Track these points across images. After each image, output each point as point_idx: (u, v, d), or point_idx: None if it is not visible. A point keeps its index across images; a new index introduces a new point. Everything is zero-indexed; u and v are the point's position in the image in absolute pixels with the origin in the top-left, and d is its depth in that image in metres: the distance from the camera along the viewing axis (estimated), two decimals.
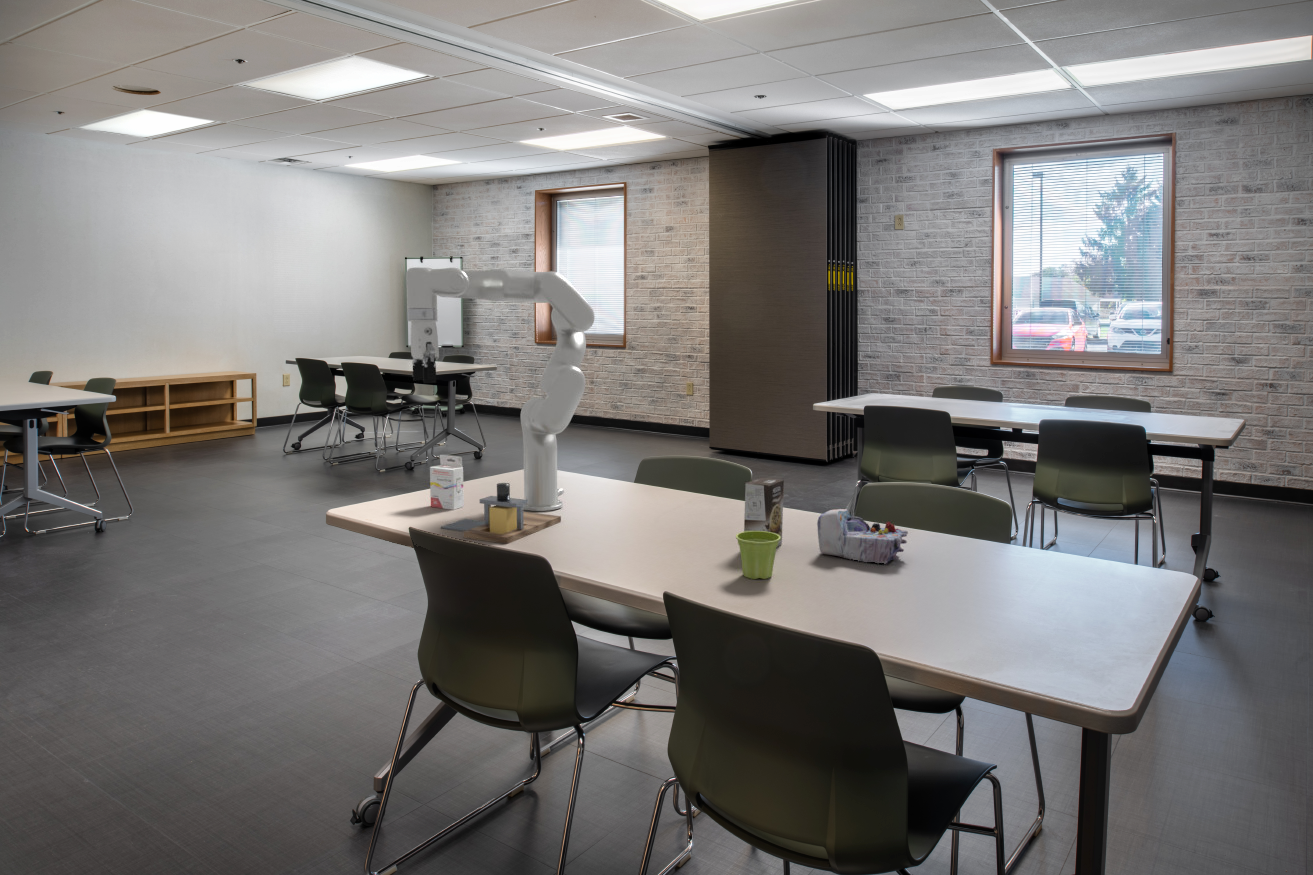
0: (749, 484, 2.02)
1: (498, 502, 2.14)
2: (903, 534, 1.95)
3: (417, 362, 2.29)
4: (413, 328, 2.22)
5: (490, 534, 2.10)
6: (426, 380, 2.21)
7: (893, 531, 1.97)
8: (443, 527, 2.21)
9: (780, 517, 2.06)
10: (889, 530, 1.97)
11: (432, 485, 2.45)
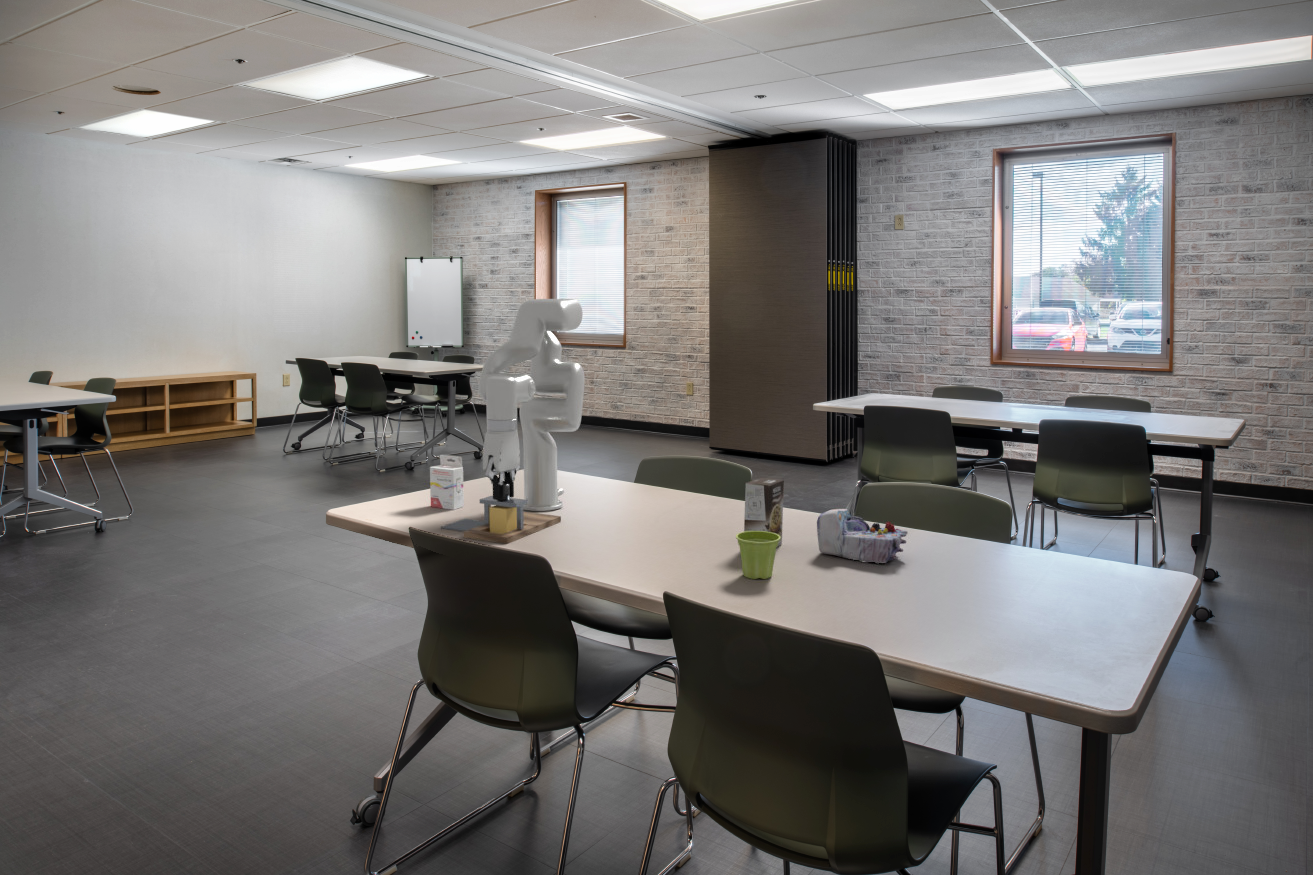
0: (749, 484, 2.02)
1: (498, 502, 2.14)
2: (902, 534, 1.95)
3: None
4: (511, 439, 2.13)
5: (490, 534, 2.10)
6: None
7: (893, 531, 1.97)
8: (443, 527, 2.21)
9: (780, 518, 2.06)
10: (889, 530, 1.97)
11: (432, 485, 2.45)
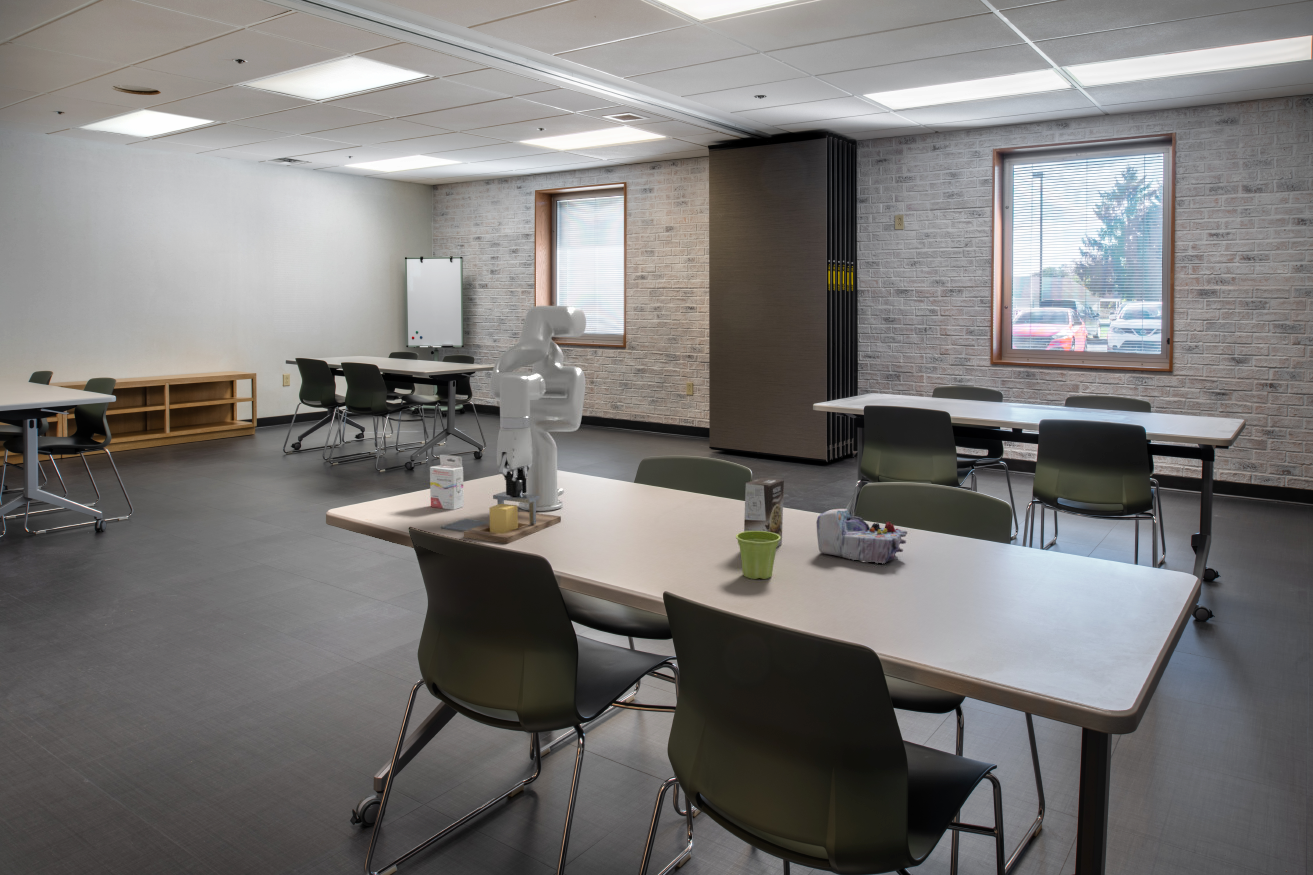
0: (749, 484, 2.02)
1: (511, 498, 2.19)
2: (902, 534, 1.95)
3: None
4: (524, 436, 2.18)
5: (490, 534, 2.10)
6: None
7: (892, 531, 1.97)
8: (443, 527, 2.21)
9: (780, 518, 2.06)
10: (888, 530, 1.97)
11: (432, 485, 2.45)
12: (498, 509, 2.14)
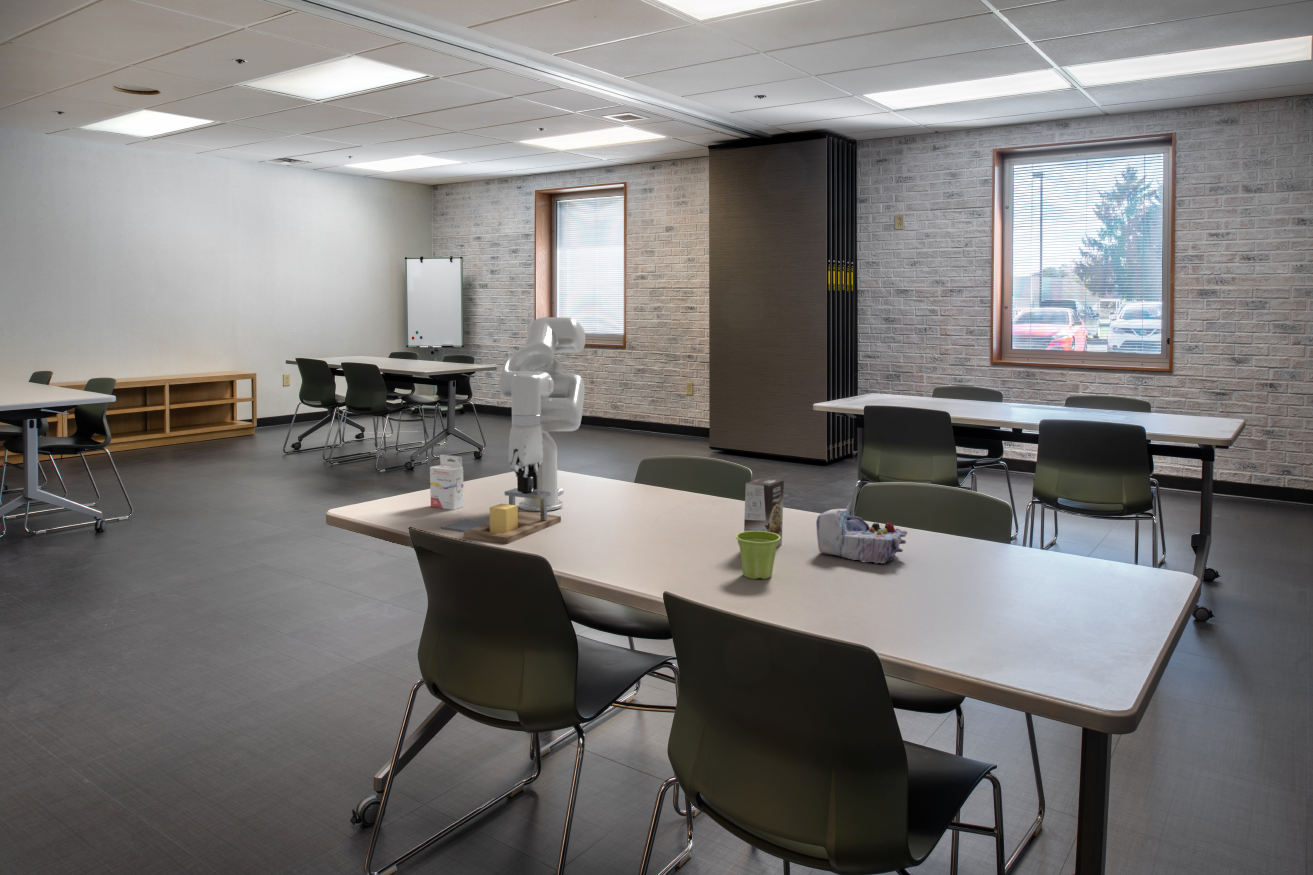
0: (749, 484, 2.02)
1: (522, 494, 2.23)
2: (902, 534, 1.95)
3: None
4: (535, 434, 2.23)
5: (490, 534, 2.10)
6: None
7: (892, 531, 1.97)
8: (443, 527, 2.21)
9: (780, 518, 2.06)
10: (888, 530, 1.97)
11: (432, 485, 2.45)
12: (498, 509, 2.14)
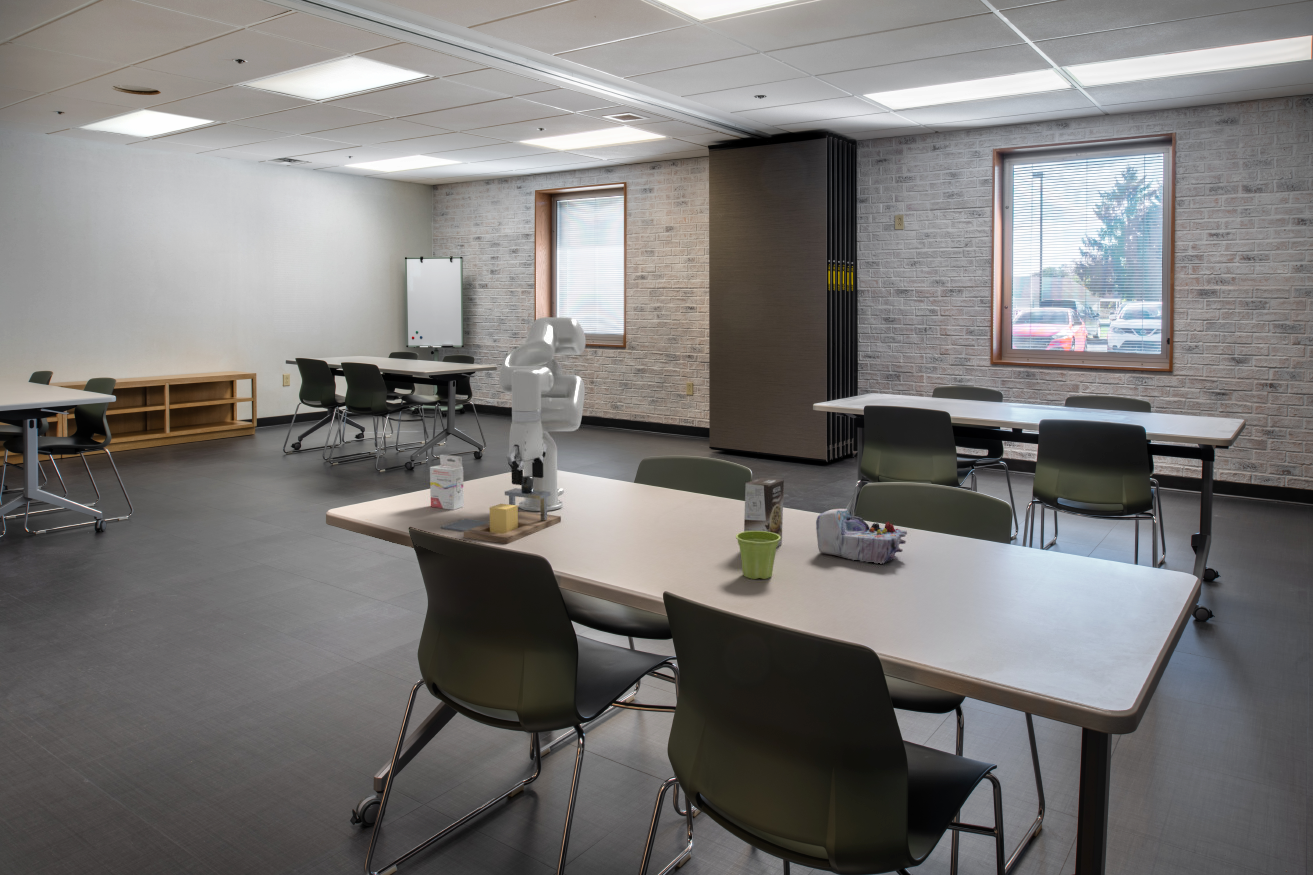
0: (749, 484, 2.02)
1: (523, 494, 2.23)
2: (902, 534, 1.95)
3: None
4: (535, 429, 2.23)
5: (490, 534, 2.10)
6: None
7: (892, 531, 1.97)
8: (443, 527, 2.21)
9: (780, 517, 2.06)
10: (888, 530, 1.97)
11: (432, 485, 2.45)
12: (498, 509, 2.14)
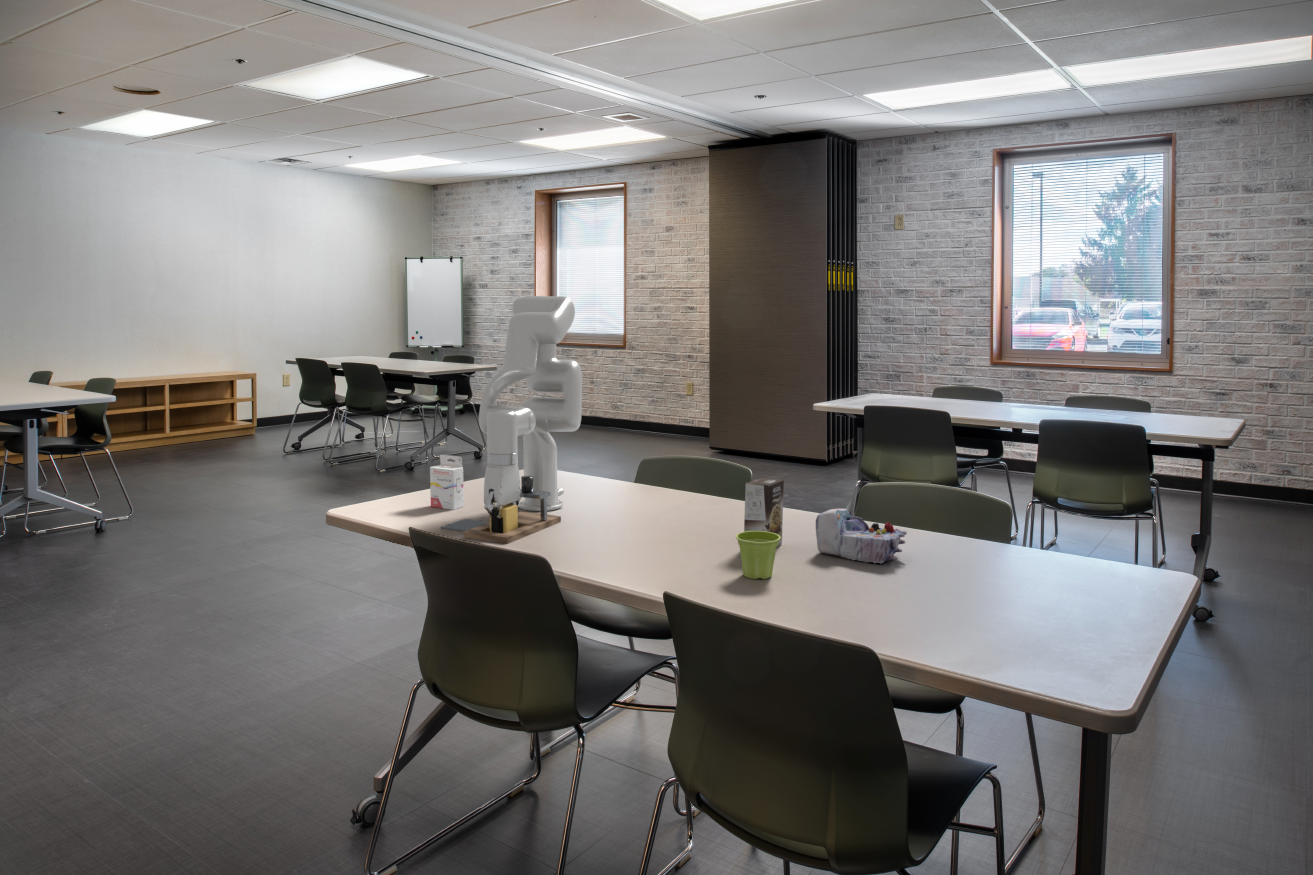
0: (749, 484, 2.02)
1: (523, 494, 2.23)
2: (901, 534, 1.95)
3: None
4: (511, 472, 2.14)
5: (490, 534, 2.10)
6: None
7: (891, 531, 1.96)
8: (443, 527, 2.21)
9: (780, 517, 2.06)
10: (887, 530, 1.97)
11: (432, 485, 2.45)
12: None
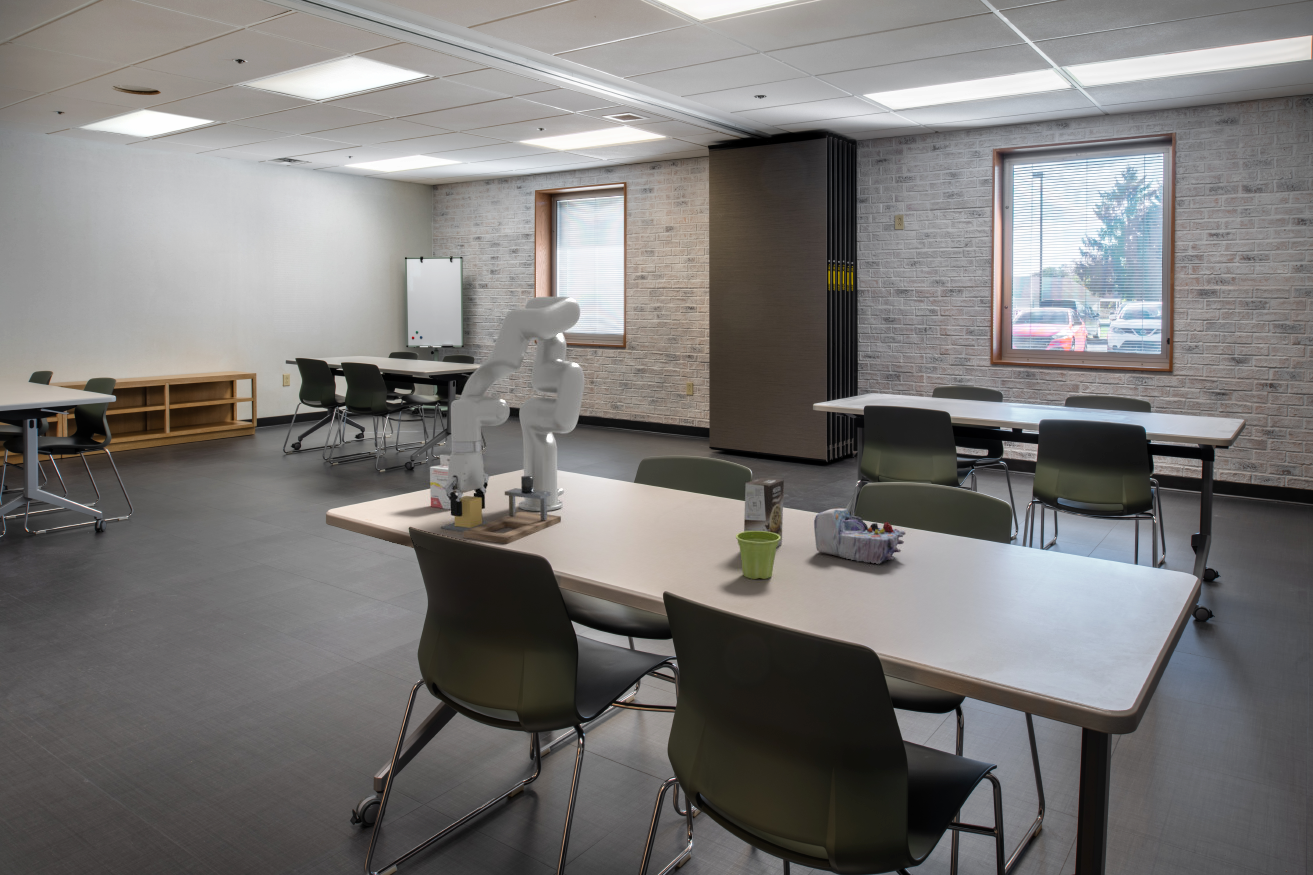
0: (749, 484, 2.02)
1: (523, 494, 2.23)
2: (899, 534, 1.95)
3: None
4: (475, 460, 2.21)
5: (490, 534, 2.10)
6: None
7: (890, 531, 1.96)
8: (443, 527, 2.21)
9: (780, 517, 2.06)
10: (886, 530, 1.97)
11: (432, 485, 2.45)
12: (462, 501, 2.21)
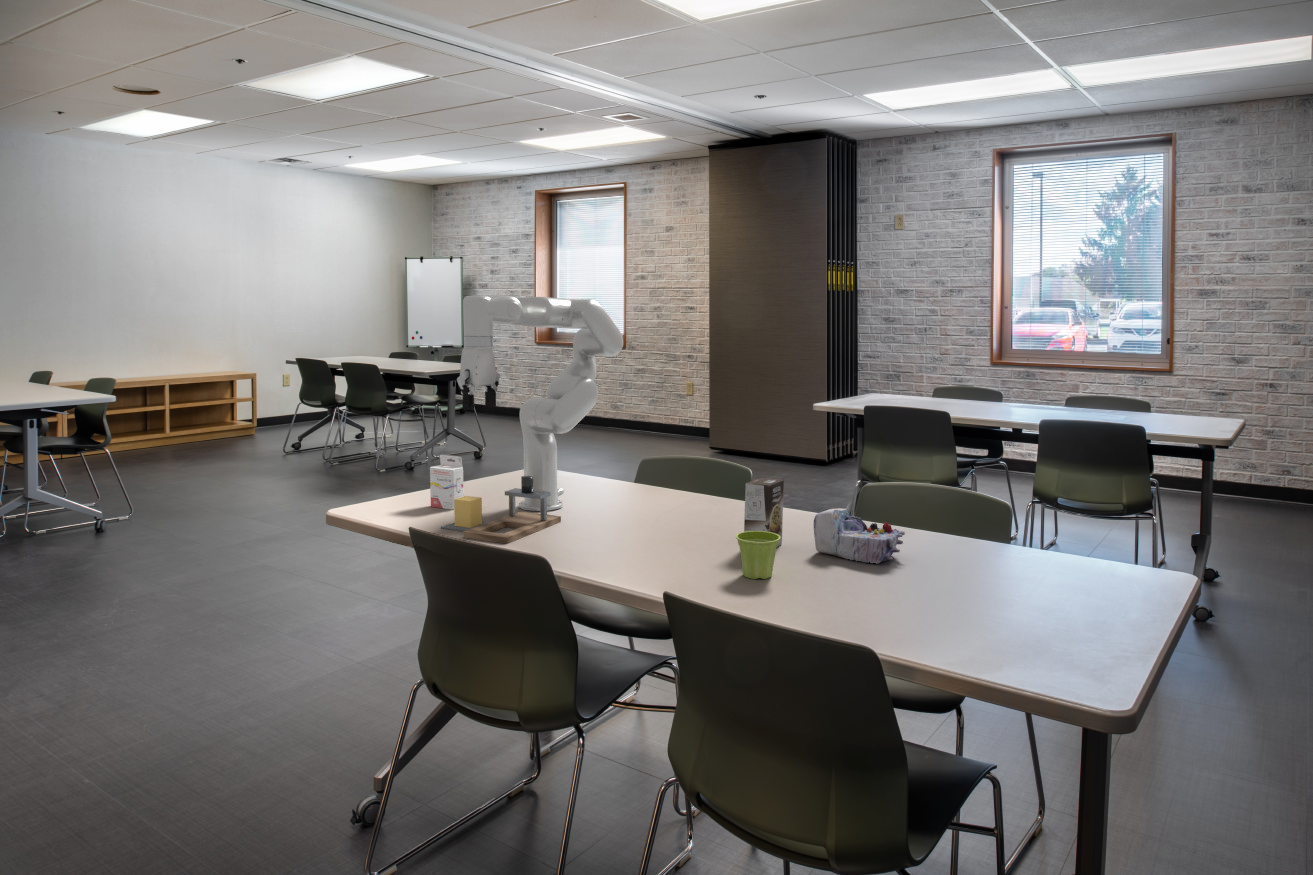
0: (749, 484, 2.02)
1: (523, 494, 2.23)
2: (898, 535, 1.94)
3: None
4: (487, 355, 2.25)
5: (490, 534, 2.10)
6: None
7: (889, 531, 1.96)
8: (443, 527, 2.21)
9: (780, 518, 2.06)
10: (885, 530, 1.97)
11: (432, 485, 2.45)
12: (462, 501, 2.21)
